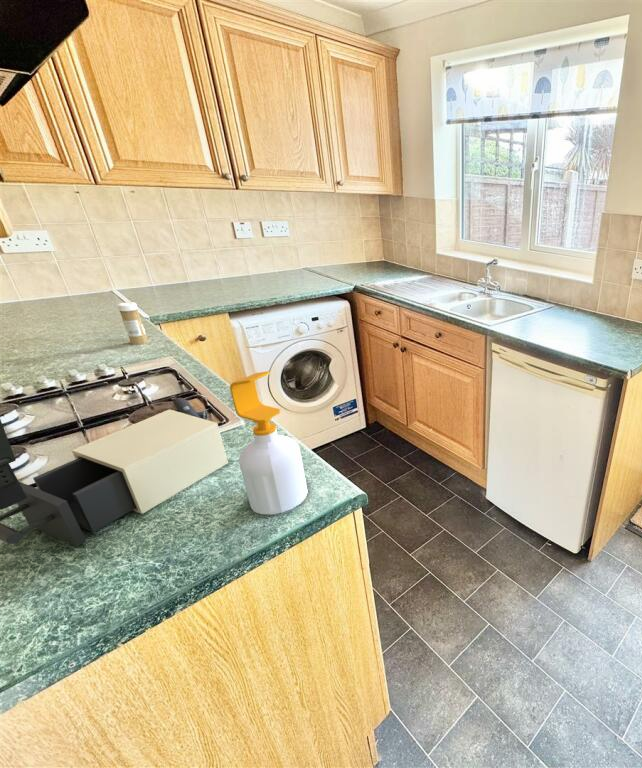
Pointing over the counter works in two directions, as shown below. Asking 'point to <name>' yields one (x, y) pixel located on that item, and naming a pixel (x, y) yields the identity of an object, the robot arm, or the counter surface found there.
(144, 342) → the sprinkles bottle
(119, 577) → the counter surface
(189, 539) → the counter surface
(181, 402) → the grey club-shaped piece
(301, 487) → the spray bottle
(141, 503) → the drawer box
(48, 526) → the dark grey drawer
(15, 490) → the robot arm
